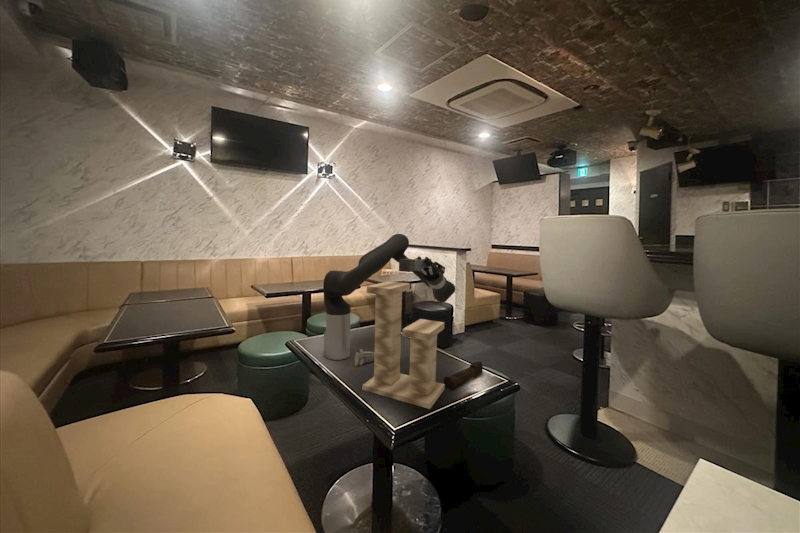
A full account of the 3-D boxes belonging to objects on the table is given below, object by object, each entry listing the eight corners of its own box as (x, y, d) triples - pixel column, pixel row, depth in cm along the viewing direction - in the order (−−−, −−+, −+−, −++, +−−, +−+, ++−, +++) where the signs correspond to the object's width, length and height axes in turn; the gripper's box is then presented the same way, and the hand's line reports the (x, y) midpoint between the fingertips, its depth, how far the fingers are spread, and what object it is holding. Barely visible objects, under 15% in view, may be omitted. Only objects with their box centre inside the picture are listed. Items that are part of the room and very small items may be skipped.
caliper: (355, 367, 110) (356, 350, 109) (354, 366, 111) (354, 349, 110) (401, 355, 122) (401, 340, 122) (399, 354, 123) (399, 339, 122)
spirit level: (398, 271, 102) (399, 259, 102) (423, 265, 122) (423, 255, 121) (409, 272, 100) (410, 259, 100) (432, 266, 120) (433, 256, 120)
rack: (362, 389, 93) (363, 285, 90) (383, 373, 105) (385, 281, 102) (429, 409, 84) (434, 293, 81) (444, 388, 95) (449, 287, 92)
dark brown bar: (452, 392, 94) (453, 377, 94) (442, 386, 97) (443, 372, 97) (488, 376, 106) (489, 363, 106) (479, 371, 109) (479, 359, 109)
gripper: (421, 268, 133) (407, 249, 119) (452, 270, 127) (441, 250, 113) (417, 284, 130) (402, 266, 116) (449, 287, 124) (437, 269, 110)
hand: (422, 258), depth 115 cm, fingers closed on spirit level, 2 cm apart
